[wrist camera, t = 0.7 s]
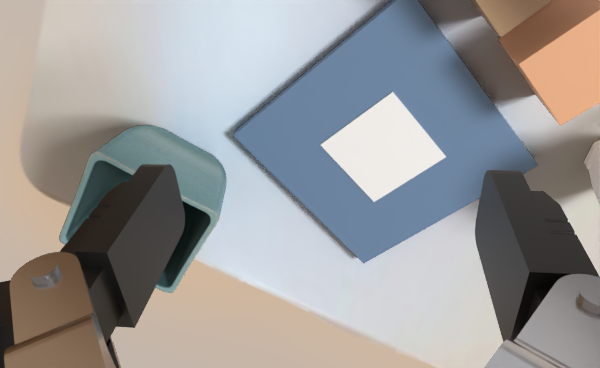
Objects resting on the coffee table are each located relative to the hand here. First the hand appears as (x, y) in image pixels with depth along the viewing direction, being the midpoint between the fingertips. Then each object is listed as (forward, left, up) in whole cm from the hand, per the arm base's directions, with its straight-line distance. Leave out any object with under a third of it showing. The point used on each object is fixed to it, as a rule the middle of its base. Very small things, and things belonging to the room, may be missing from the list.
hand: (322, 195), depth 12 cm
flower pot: (+18, +1, -23) cm, 29 cm away
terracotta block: (-9, +11, -23) cm, 26 cm away
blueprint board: (+4, +10, -22) cm, 25 cm away
